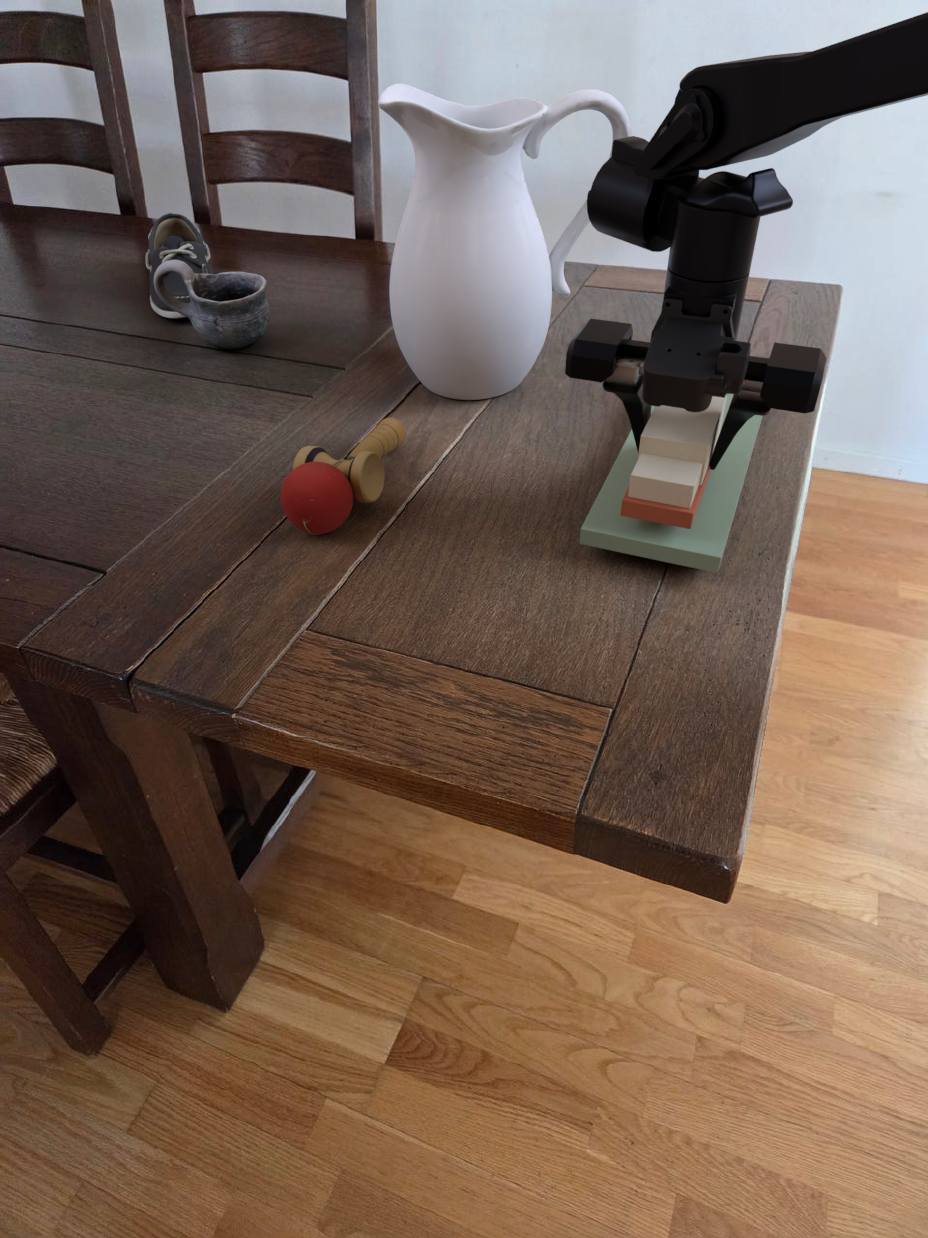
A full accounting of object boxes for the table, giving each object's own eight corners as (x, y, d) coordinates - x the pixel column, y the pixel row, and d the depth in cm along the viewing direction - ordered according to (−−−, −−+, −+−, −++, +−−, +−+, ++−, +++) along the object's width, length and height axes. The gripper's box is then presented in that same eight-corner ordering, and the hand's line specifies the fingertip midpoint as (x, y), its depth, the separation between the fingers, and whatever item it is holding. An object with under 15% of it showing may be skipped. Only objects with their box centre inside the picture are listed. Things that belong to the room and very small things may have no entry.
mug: (281, 352, 102) (267, 265, 95) (173, 368, 99) (151, 280, 92) (269, 322, 109) (255, 239, 102) (168, 336, 106) (147, 252, 99)
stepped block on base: (658, 433, 77) (665, 381, 74) (720, 444, 75) (731, 391, 72) (619, 515, 67) (626, 459, 64) (690, 529, 65) (701, 472, 62)
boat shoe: (223, 322, 109) (210, 262, 104) (148, 330, 107) (132, 269, 102) (219, 259, 127) (208, 205, 122) (155, 265, 126) (142, 211, 121)
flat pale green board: (668, 376, 95) (671, 350, 93) (770, 391, 92) (776, 364, 90) (577, 558, 70) (580, 528, 68) (714, 588, 67) (721, 557, 65)
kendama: (350, 450, 86) (254, 526, 72) (359, 391, 83) (258, 459, 68) (420, 476, 85) (336, 558, 71) (432, 417, 81) (345, 491, 67)
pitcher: (395, 417, 89) (372, 110, 71) (395, 350, 102) (375, 74, 83) (624, 407, 90) (659, 101, 71) (595, 341, 102) (619, 67, 84)
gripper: (548, 292, 58) (539, 489, 68) (839, 327, 53) (782, 536, 63) (592, 242, 66) (578, 426, 76) (849, 268, 60) (797, 463, 71)
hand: (676, 461), depth 71 cm, fingers closed on stepped block on base, 5 cm apart
